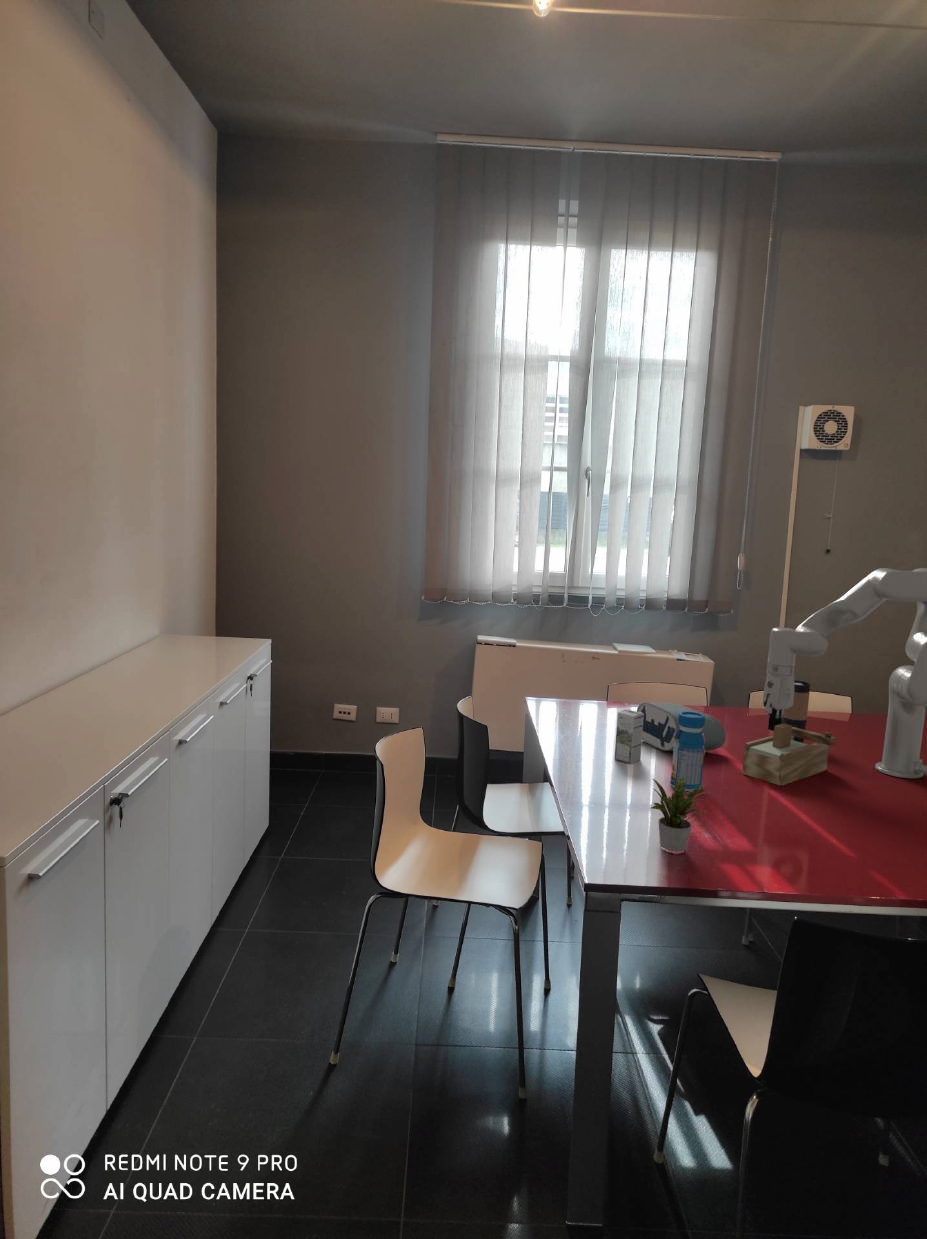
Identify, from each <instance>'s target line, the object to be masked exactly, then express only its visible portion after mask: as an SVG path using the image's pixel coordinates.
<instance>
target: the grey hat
mask: <svg viewBox="0 0 927 1239" xmlns="http://www.w3.org/2000/svg"><path fill="white" fill-rule="evenodd" d="M636 712H641V713H644V719H643V731H642V741H643V742H644V743H647V745H650V746H652V747H654V748H656V749H658V750H661V751H664V752H670V751H671V752H673V744H674V743H675V740H674V736H675V734H676V732H677V730H678V729H679V728H680V726H679V724H678V719H679V713H681V712H696V713H700V714H703V715H704V716H705V724H704V728H703V729H701V730H702V731H703V733H704V735H705V739H706V743H705V744H704V747H705V752H706V751H707V752H708V751H714V750H717V749H719V748H721V747H722V746H723V745H724V744H725V742H726V739H727V735H726V730H725V728H724V726H723V725H722V723H721V722H720V721H719V720H718V719H716V718H715V717H714V716H711V715H710V714H707V713H704V712H701V711H699V710H695V709H692V708H689V707H688V706H684V705H682V704H681V703H674V702H673V703H671V702H642V703H640V704H639V705H638V707H637V709H636Z"/></svg>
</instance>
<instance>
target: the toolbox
mask: <svg viewBox="0 0 927 1239" xmlns="http://www.w3.org/2000/svg"><path fill="white" fill-rule="evenodd" d="M773 736H774V734H773V735H770V736H765V737H762V738H758V739H754V740H751V741H748V742H745V743H744V752H743V753H744V754H743V761H742V762H743V763H742V771H741V773H742V775H746V776H750V777H753V778H755V779H758V780H760V781H761V780H762V781H765V782H768V783H771V784H774V785H777V786H780V785H782V786H784V785H787V783H788V784H790V783H793V781H794V782H796V781H799V780H802V779H805V778H808V777H810V776H813V775H817V774H819V773H822V772H825V770H826V771H827V769H828V768H827V767H828V758H829V750H830V748H829V747H830V745H826V744H822V743H818V742H814V743H810V744H809V745H807V746H803V747H800V748H796V749H793V750H790V751H786V752H783V753H781V758H780V760H778V759H775V758H771V757H768V756H764V755H761V754H757V753H754V752H750V751H749V747H751V746H755V745H758V744H762V743H765V742H769V741H773ZM793 739H794V736H791V740H793Z"/></svg>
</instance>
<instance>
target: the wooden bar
mask: <svg viewBox="0 0 927 1239" xmlns="http://www.w3.org/2000/svg"><path fill="white" fill-rule="evenodd" d="M791 736H795V737H799V738H803V739H804V740H808V741H811V742H814V743H817V742H818V743H822V744H826V745H829V747H830V746H833V745H835V742H836V737H834V736H832V732H831V731H830V732H829V731H825V733H824V734H823V733H819V732H815V731H810V730H807V729H805V730H804V729H800V728H796V727H792V733H791Z"/></svg>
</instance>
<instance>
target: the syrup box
mask: <svg viewBox="0 0 927 1239" xmlns="http://www.w3.org/2000/svg"><path fill="white" fill-rule="evenodd" d="M636 711H637V710H636ZM636 711H635V710H632V709H628V708H627V709H623V710H620V711H617V718H616V733H615V747H614V759H613V760H616V761H619V762H623V763H625V764H626V763H627V764H629V765H631V764H635V763H637V762H639V761H641V756H642V741H643V740H642V731H643V719H644V713H641V712H636Z"/></svg>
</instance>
